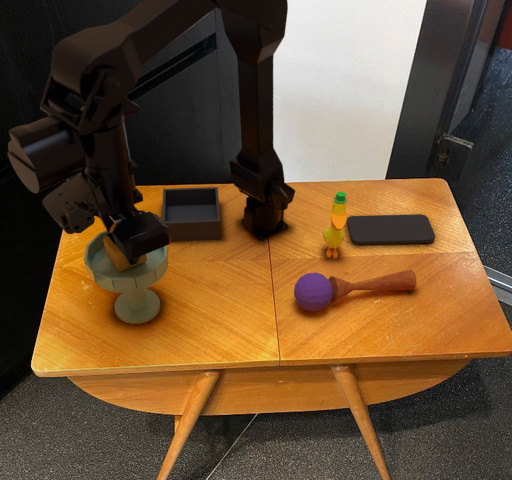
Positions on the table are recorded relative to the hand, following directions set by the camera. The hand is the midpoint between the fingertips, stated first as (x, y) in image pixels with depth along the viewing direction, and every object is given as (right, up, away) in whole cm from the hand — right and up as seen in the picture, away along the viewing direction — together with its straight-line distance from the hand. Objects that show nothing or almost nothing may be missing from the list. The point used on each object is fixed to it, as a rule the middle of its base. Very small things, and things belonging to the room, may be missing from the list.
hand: (126, 255), depth 77 cm
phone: (+43, +8, +22) cm, 49 cm away
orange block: (0, 0, 0) cm, 1 cm away
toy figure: (+32, +3, +17) cm, 36 cm away
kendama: (+34, -5, +11) cm, 36 cm away
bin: (+7, +9, +22) cm, 25 cm away
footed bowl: (0, -7, +8) cm, 11 cm away
